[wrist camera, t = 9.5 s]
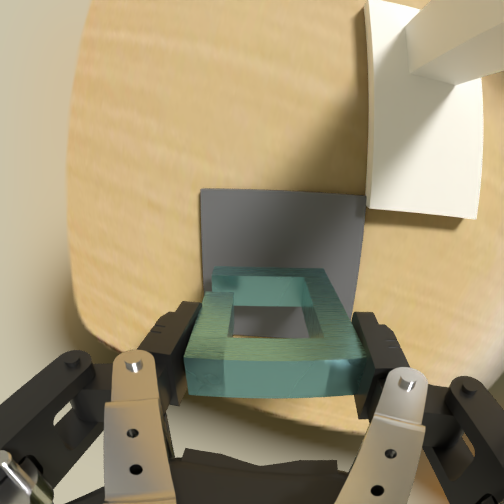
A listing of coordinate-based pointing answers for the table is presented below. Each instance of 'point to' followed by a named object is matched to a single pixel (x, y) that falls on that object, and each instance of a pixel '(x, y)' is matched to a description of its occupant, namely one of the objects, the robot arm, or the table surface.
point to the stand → (429, 102)
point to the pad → (282, 246)
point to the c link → (273, 350)
